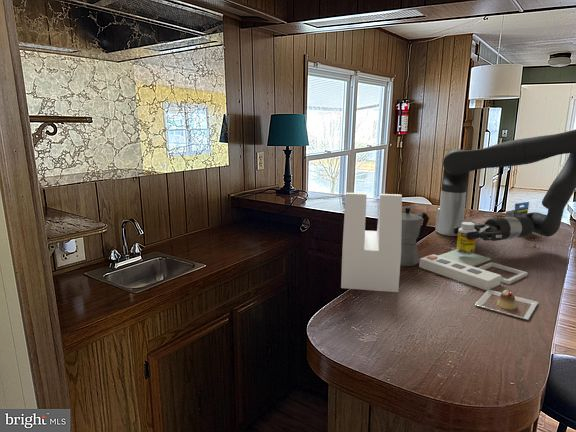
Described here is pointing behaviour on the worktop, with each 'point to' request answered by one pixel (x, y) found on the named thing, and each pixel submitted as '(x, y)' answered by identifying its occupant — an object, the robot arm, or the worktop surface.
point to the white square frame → (510, 280)
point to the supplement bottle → (465, 244)
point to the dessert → (507, 302)
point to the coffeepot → (411, 236)
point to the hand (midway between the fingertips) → (460, 233)
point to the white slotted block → (372, 244)
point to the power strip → (460, 271)
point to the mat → (465, 258)
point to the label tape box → (518, 210)
